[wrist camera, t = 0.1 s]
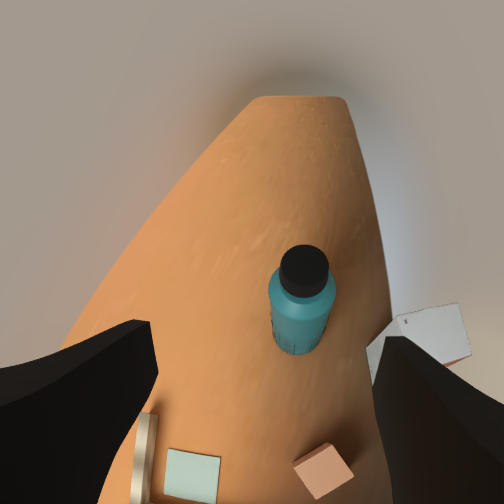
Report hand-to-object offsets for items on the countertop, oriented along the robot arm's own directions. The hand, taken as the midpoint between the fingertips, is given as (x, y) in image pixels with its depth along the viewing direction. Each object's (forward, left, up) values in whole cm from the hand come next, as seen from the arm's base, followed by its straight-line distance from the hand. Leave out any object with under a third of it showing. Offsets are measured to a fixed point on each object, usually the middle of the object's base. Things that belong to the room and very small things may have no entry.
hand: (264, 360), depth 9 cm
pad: (-11, +10, -32) cm, 35 cm away
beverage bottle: (+10, -2, -32) cm, 34 cm away
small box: (+6, -16, -32) cm, 36 cm away
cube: (-8, -6, -32) cm, 33 cm away
